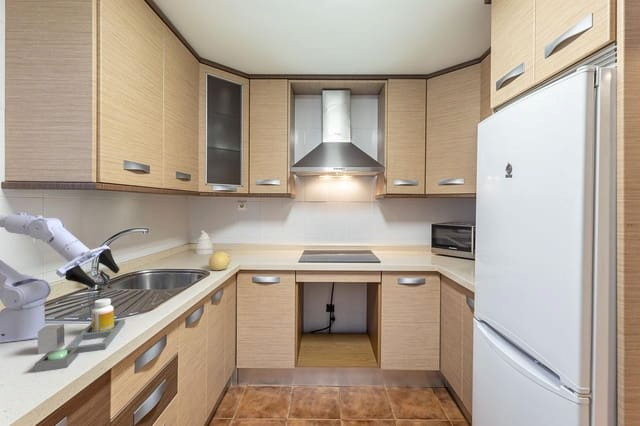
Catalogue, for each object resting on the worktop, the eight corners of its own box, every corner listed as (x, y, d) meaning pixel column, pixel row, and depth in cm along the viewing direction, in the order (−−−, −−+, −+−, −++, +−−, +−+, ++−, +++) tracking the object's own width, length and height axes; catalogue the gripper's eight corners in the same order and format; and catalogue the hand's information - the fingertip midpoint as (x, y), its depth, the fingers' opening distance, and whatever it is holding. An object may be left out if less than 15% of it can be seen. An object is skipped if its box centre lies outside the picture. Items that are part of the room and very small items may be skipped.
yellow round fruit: (233, 268, 181) (233, 250, 181) (220, 272, 170) (220, 253, 169) (218, 267, 185) (218, 249, 184) (204, 270, 173) (204, 252, 173)
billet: (38, 354, 76) (37, 331, 76) (46, 347, 80) (45, 325, 80) (57, 352, 78) (56, 329, 77) (64, 345, 81) (64, 323, 81)
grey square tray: (35, 372, 68) (35, 363, 68) (49, 359, 74) (48, 351, 74) (67, 367, 70) (66, 359, 70) (78, 355, 76) (78, 347, 76)
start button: (44, 366, 70) (44, 357, 70) (52, 358, 73) (52, 350, 73) (63, 363, 71) (63, 355, 71) (70, 356, 74) (70, 348, 74)
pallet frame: (64, 354, 76) (64, 349, 76) (91, 327, 93) (91, 322, 93) (105, 349, 79) (105, 343, 79) (124, 323, 96) (124, 319, 96)
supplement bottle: (118, 327, 93) (117, 297, 93) (106, 335, 87) (105, 303, 87) (100, 328, 93) (100, 297, 92) (87, 335, 87) (87, 303, 87)
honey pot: (192, 253, 235) (192, 231, 234) (203, 251, 247) (203, 229, 246) (205, 254, 231) (205, 231, 230) (216, 252, 243) (216, 230, 242)
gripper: (46, 252, 79) (86, 285, 80) (97, 229, 92) (131, 258, 93) (41, 267, 82) (79, 298, 83) (91, 243, 95) (124, 270, 96)
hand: (106, 278), depth 88 cm, fingers open, 7 cm apart
